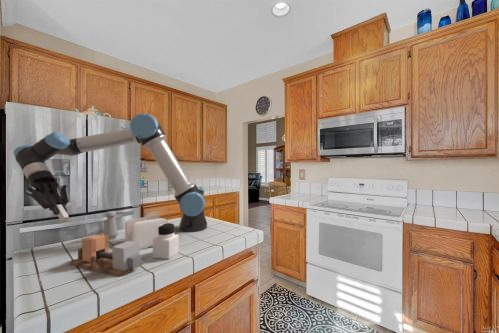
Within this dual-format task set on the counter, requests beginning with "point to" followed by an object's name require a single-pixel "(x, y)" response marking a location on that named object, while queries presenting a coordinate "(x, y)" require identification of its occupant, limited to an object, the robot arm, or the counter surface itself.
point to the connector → (126, 255)
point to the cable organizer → (143, 230)
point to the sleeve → (94, 246)
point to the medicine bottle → (165, 242)
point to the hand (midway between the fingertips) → (65, 219)
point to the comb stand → (99, 265)
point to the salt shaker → (111, 225)
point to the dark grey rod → (104, 255)
